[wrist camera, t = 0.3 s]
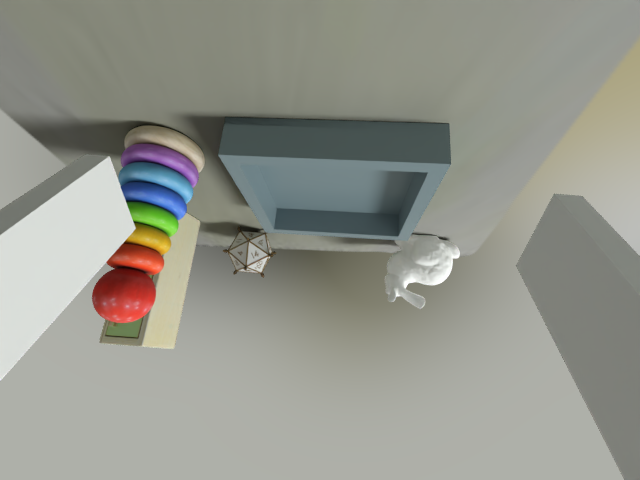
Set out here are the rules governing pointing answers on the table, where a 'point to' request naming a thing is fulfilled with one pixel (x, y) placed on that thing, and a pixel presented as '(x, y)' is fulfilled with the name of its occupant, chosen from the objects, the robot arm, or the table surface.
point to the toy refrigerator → (161, 296)
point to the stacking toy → (148, 217)
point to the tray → (336, 174)
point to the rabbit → (419, 266)
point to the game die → (250, 252)
